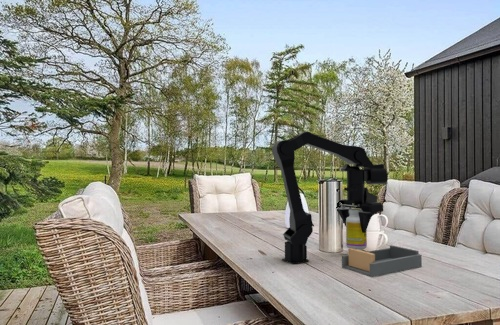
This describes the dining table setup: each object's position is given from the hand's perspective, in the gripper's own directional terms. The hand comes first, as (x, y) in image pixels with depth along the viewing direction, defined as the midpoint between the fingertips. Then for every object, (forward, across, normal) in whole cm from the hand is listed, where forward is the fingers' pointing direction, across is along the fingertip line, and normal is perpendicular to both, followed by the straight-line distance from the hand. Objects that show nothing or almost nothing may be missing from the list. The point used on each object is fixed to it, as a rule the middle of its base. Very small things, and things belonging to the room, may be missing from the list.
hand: (356, 231), depth 131 cm
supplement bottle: (+6, 0, 0) cm, 6 cm away
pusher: (+8, -13, +11) cm, 19 cm away
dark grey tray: (+9, -13, +3) cm, 16 cm away
